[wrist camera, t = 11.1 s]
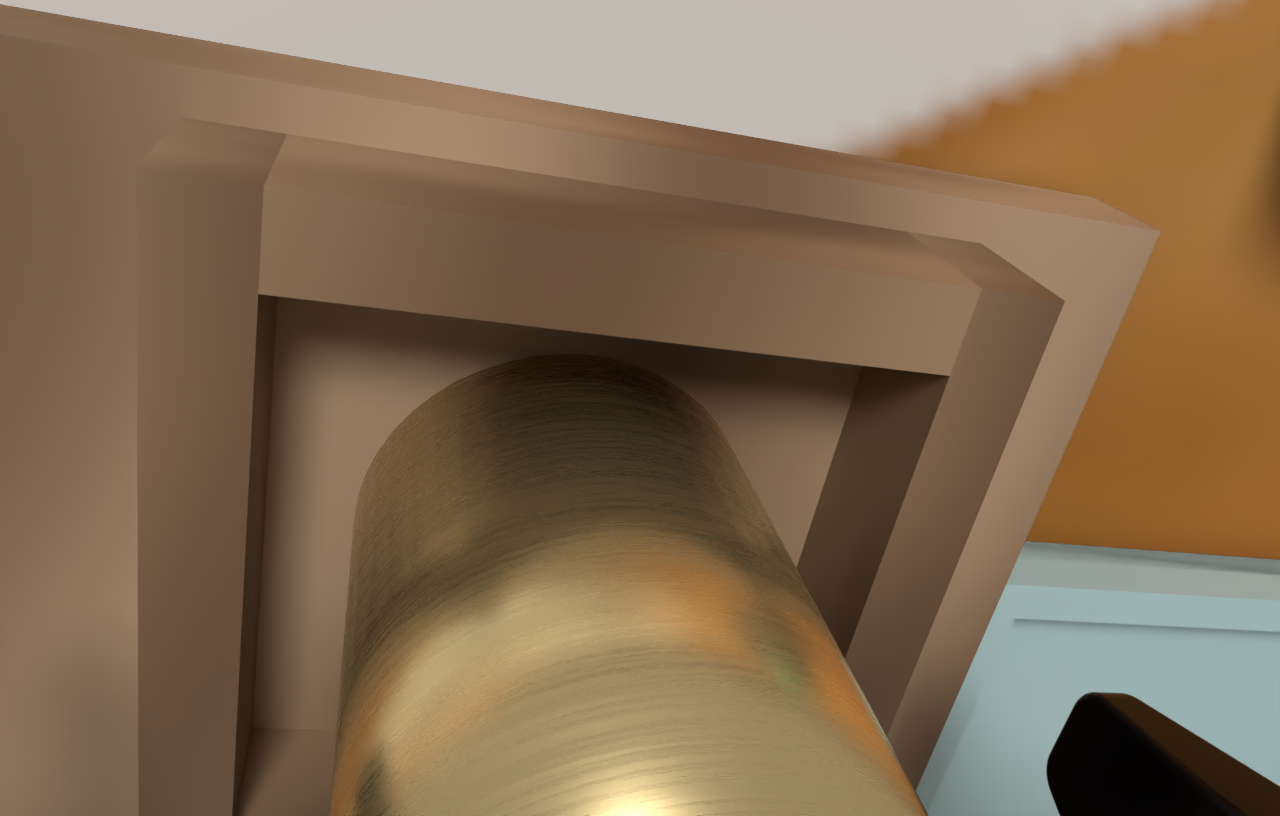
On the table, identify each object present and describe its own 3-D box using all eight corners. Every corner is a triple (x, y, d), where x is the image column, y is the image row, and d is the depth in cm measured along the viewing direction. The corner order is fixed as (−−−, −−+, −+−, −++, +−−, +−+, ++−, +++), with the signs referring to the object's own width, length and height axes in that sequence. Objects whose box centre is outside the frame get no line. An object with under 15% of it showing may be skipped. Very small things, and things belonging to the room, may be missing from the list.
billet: (786, 376, 10) (1167, 913, 5) (695, 684, 12) (910, 1317, 7) (373, 331, 9) (326, 951, 4) (337, 676, 11) (272, 1417, 6)
